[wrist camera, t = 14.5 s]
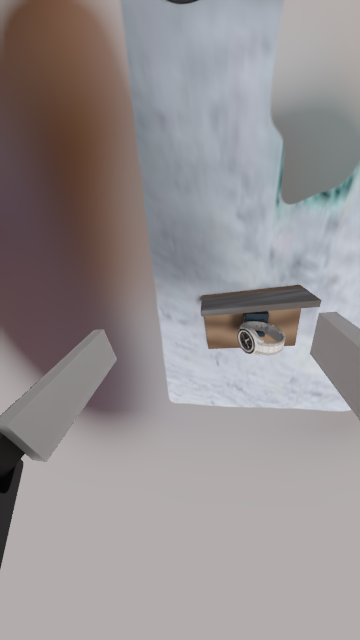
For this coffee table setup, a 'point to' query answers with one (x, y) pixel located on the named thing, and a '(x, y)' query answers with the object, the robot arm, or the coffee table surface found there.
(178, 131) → the coffee table surface
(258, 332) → the watch
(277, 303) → the display stand
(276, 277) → the coffee table surface
